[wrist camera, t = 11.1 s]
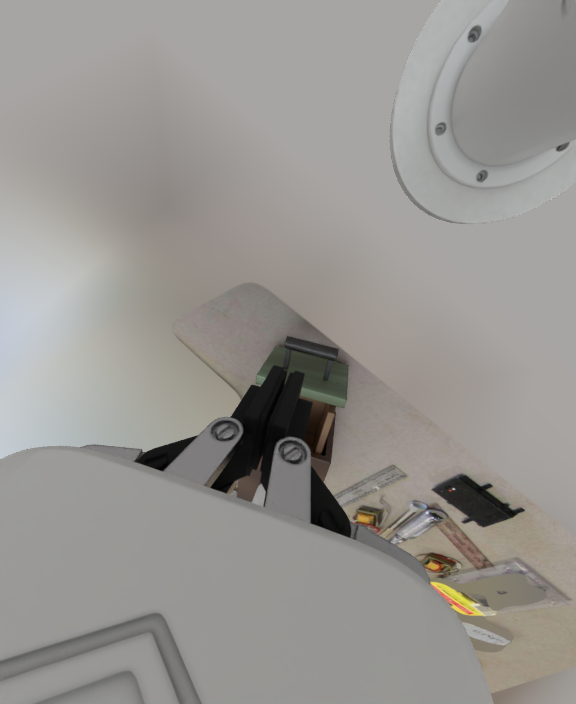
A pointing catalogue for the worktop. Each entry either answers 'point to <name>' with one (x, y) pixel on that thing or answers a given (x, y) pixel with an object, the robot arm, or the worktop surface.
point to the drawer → (313, 383)
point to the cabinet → (318, 462)
